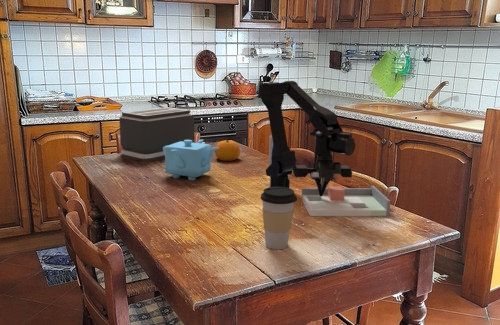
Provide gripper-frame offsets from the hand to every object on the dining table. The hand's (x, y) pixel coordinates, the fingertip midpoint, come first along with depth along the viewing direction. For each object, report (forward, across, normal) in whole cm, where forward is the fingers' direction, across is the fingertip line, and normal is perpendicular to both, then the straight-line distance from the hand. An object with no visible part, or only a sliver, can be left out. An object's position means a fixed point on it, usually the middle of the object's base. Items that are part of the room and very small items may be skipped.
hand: (320, 195), depth 160 cm
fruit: (+3, -31, +64) cm, 71 cm away
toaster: (+3, -63, +77) cm, 100 cm away
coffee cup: (+3, -18, -34) cm, 39 cm away
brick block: (+1, +5, 0) cm, 5 cm away
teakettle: (+3, -46, +34) cm, 57 cm away
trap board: (+3, +6, -4) cm, 8 cm away
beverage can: (+3, -11, +46) cm, 48 cm away
